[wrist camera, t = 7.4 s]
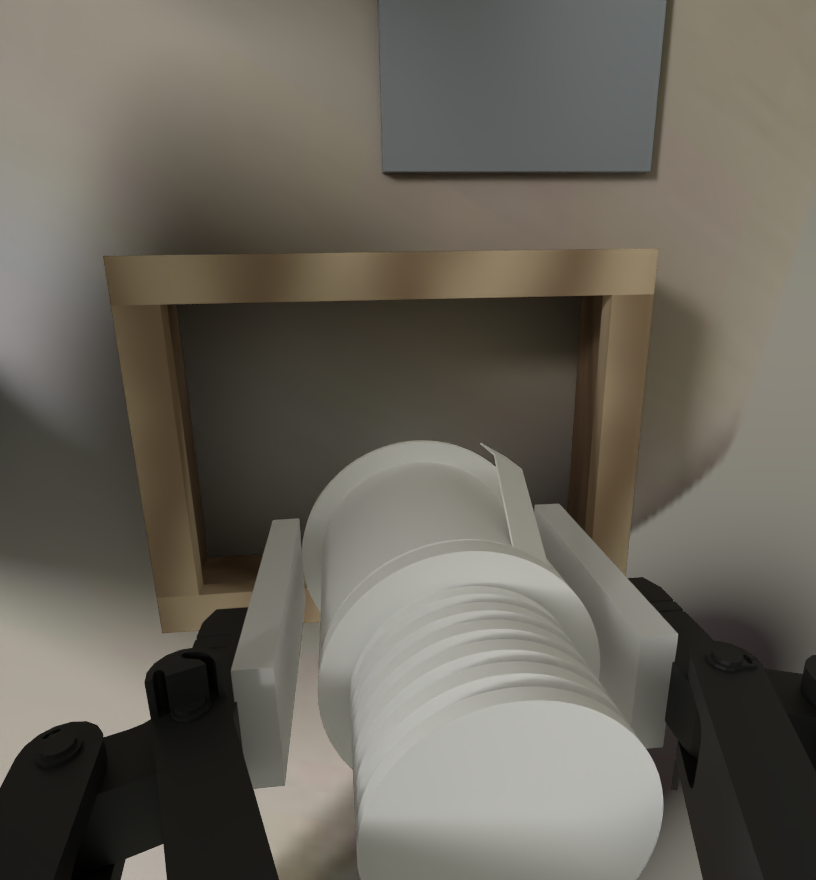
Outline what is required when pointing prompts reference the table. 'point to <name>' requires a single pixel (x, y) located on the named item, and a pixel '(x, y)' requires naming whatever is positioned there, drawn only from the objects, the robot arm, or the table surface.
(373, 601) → the downlight
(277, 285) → the open wooden box
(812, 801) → the robot arm
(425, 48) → the rubber mat
